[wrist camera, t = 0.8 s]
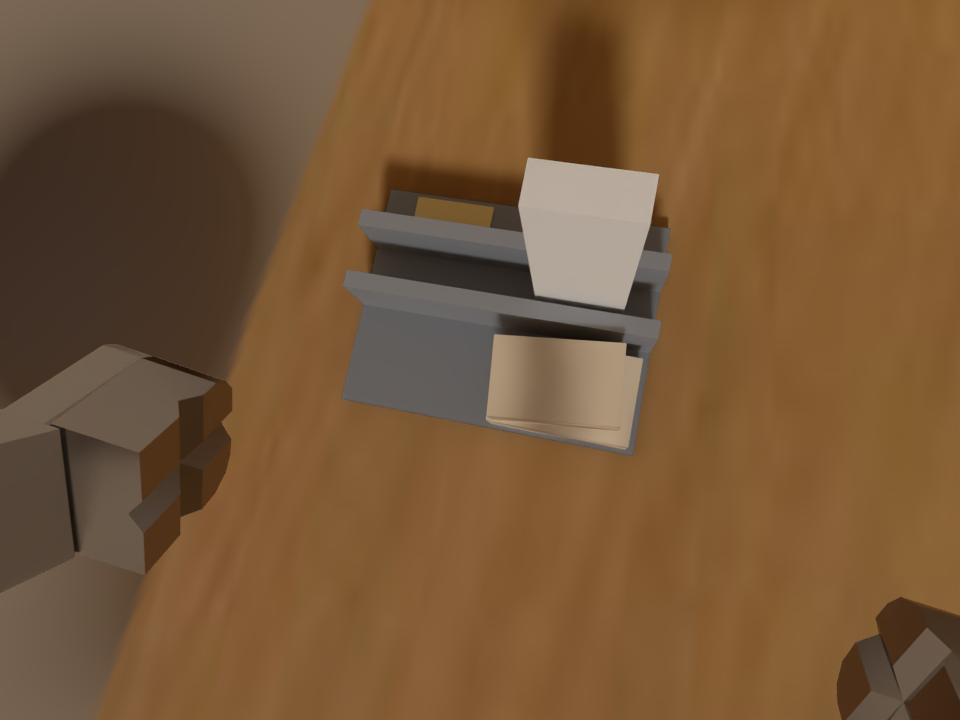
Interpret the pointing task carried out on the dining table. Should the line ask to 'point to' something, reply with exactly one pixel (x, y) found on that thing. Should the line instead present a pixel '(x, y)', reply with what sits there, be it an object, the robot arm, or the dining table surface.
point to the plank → (585, 231)
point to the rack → (471, 308)
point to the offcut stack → (564, 388)
